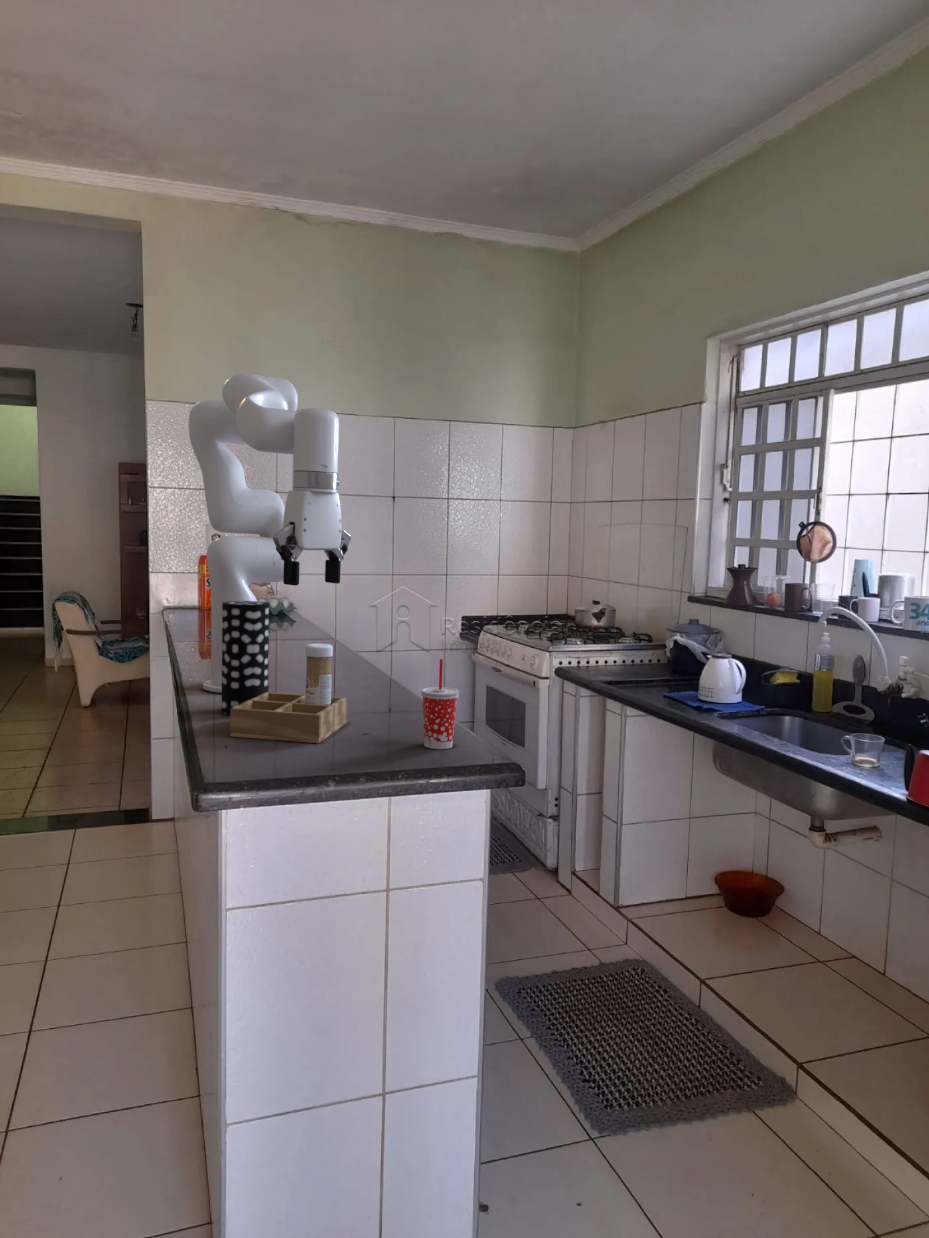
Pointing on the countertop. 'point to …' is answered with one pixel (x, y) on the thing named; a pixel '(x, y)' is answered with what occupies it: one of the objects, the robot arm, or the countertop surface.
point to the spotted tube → (244, 652)
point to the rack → (287, 718)
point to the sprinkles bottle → (318, 674)
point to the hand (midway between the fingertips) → (312, 583)
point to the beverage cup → (439, 714)
